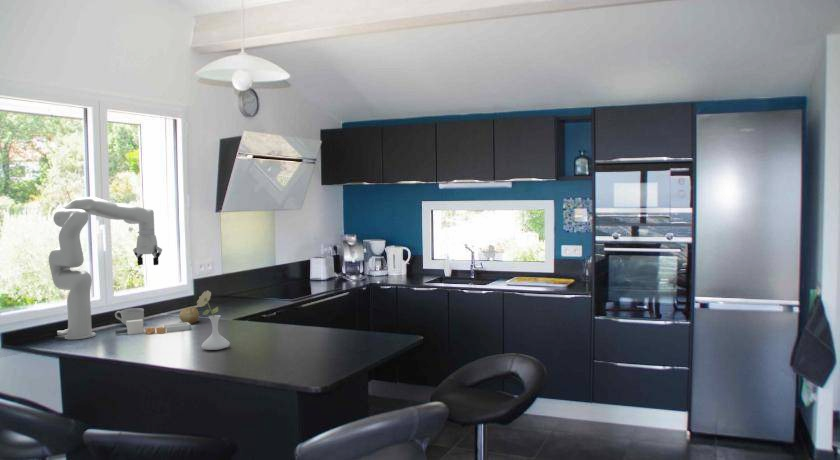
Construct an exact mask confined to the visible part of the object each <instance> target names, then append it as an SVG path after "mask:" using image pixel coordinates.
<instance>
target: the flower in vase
mask: <svg viewBox="0 0 840 460" xmlns="http://www.w3.org/2000/svg"><path fill="white" fill-rule="evenodd" d="M211 296H212V292H211V291H210V290H205V291H203V292H202V293H201V295H200V296H199V297H198V298H199V299H197V301H196V306H197V307H199V308H202V307H204V306H205V305H207V306H208V308H209V309H206V310H204V311H203V312H202V315H203V316H206V315H208V314H209V313H211V314H212V315H209V316H208V319H210V322H211V328H212V331H211V334H210V336H209V337H207V338H206V339H205V340H204V341H203V343H202V344H201V346H200V347H201V348H202V349H203V350H207V351H218V350H223V349H226V348H228V347H229V346H230V341H229V340H228V339H226V338H225V337H224V336H222V335H221V333H220V332H219V320H220V318H221V315H220V314H216V313H218V312H219V306H216V307H215V308H213V309H211V306H210V304H209V302H210V300H211ZM214 314H215V315H214Z"/></svg>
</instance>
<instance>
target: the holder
mask: <svg viewBox="0 0 840 460" xmlns="http://www.w3.org/2000/svg"><path fill="white" fill-rule="evenodd" d="M163 327H166V333H176V332H184V331H191V330H192V324H190V323H188V322H184V323H183V322H177V323H176V322H175V323H167V324H164V326H163Z"/></svg>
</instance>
